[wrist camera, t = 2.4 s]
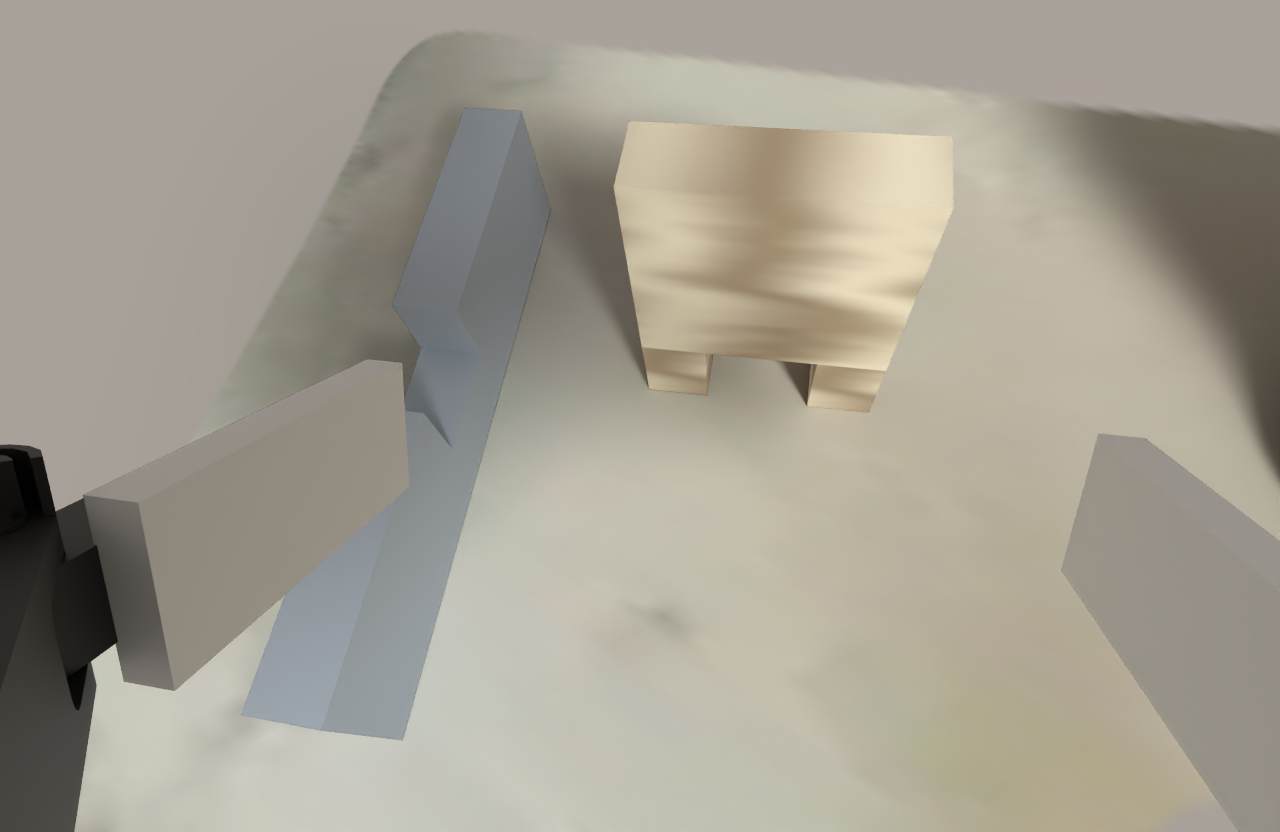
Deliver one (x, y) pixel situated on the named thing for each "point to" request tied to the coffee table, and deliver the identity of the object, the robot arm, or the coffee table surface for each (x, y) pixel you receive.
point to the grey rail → (418, 448)
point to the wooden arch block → (778, 248)
